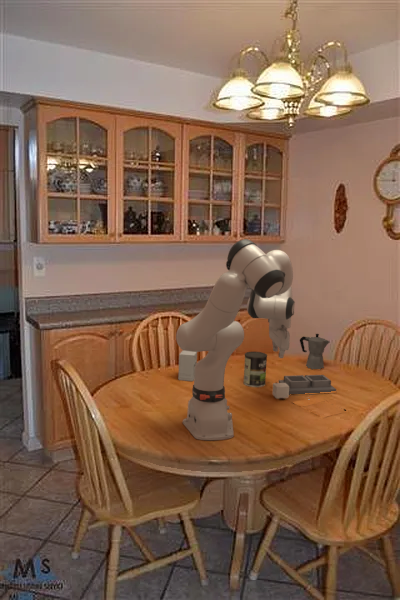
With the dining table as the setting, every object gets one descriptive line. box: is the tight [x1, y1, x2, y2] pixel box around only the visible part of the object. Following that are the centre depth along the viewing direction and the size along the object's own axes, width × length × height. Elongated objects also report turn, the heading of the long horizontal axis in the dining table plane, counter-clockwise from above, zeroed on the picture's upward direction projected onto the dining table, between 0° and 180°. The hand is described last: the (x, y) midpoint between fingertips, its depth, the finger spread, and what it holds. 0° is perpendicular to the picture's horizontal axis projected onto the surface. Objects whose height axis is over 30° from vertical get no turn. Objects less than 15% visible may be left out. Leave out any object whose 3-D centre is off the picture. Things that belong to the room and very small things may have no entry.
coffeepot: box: [299, 333, 331, 370], centre depth 258 cm, size 15×9×18 cm, turn 67°
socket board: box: [278, 374, 337, 396], centre depth 226 cm, size 14×22×5 cm, turn 100°
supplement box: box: [177, 350, 198, 382], centre depth 234 cm, size 7×7×13 cm
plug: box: [271, 382, 290, 400], centre depth 213 cm, size 5×6×6 cm
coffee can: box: [243, 351, 268, 388], centre depth 230 cm, size 10×10×14 cm
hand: (278, 354), depth 210 cm, fingers open, 8 cm apart
